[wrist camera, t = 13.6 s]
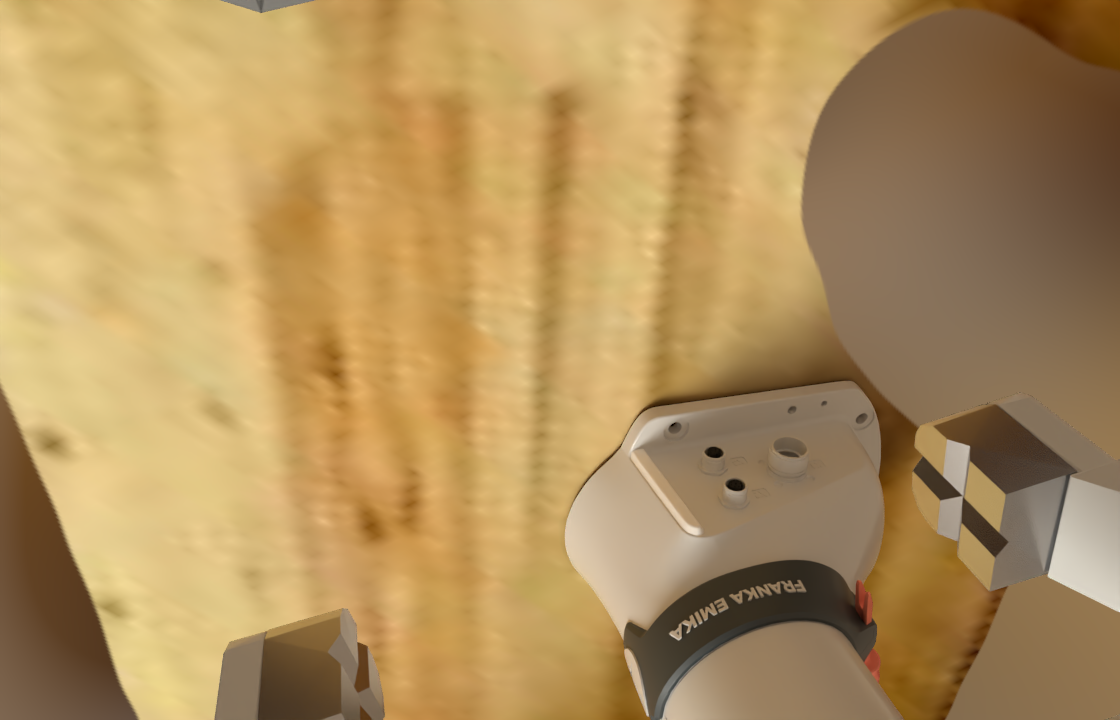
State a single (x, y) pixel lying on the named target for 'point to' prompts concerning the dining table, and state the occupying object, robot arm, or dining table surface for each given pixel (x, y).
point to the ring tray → (265, 4)
